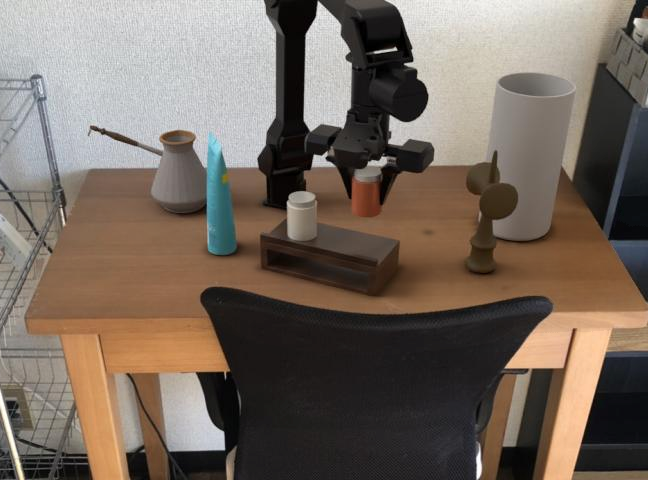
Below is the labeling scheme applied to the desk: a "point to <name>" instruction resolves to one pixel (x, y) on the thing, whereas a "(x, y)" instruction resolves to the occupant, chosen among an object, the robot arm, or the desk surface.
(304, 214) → the white lidded jar
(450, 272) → the desk surface
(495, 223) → the cylinder vase
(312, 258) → the shelf
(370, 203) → the orange lidded jar
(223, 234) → the tube
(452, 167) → the desk surface
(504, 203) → the kendama
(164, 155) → the coffee pot
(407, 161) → the robot arm
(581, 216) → the desk surface
